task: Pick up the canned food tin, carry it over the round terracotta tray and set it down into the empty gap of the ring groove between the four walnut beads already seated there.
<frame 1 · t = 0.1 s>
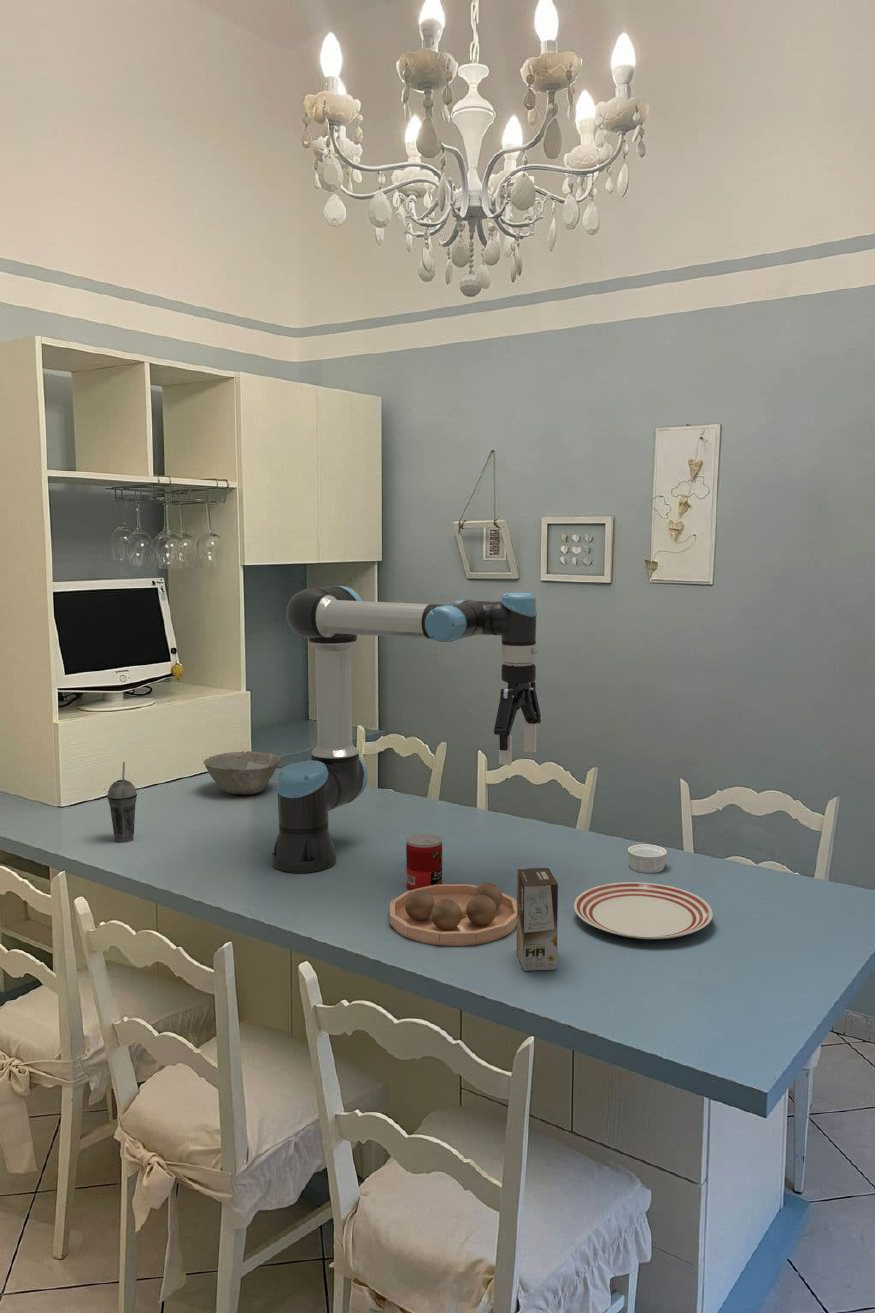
hand: (517, 758, 221), 28 cm above the counter, fingers open, 13 cm apart
ceramic bowl: (243, 792, 299), on the counter
beverage cup: (124, 840, 254), on the counter
tray: (454, 919, 202), on the counter
dinner plate: (642, 922, 201), on the counter
ramekin: (646, 868, 232), on the counter
canned food: (424, 888, 220), on the counter
coffee box: (536, 961, 183), on the counter
seated beads: (454, 919, 202), resting on tray
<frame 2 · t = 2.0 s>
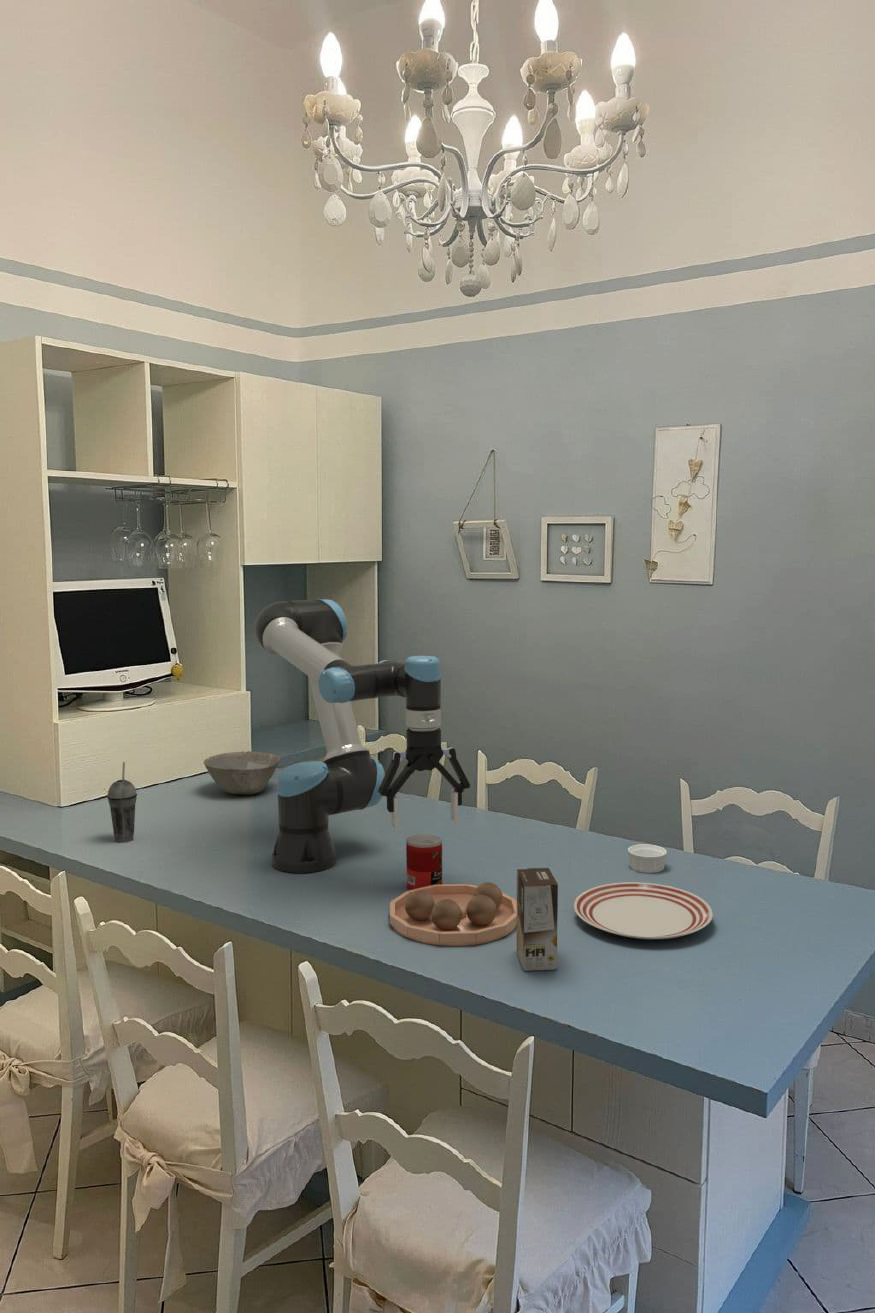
hand: (424, 823, 218), 15 cm above the counter, fingers open, 13 cm apart
nothing on the counter moved.
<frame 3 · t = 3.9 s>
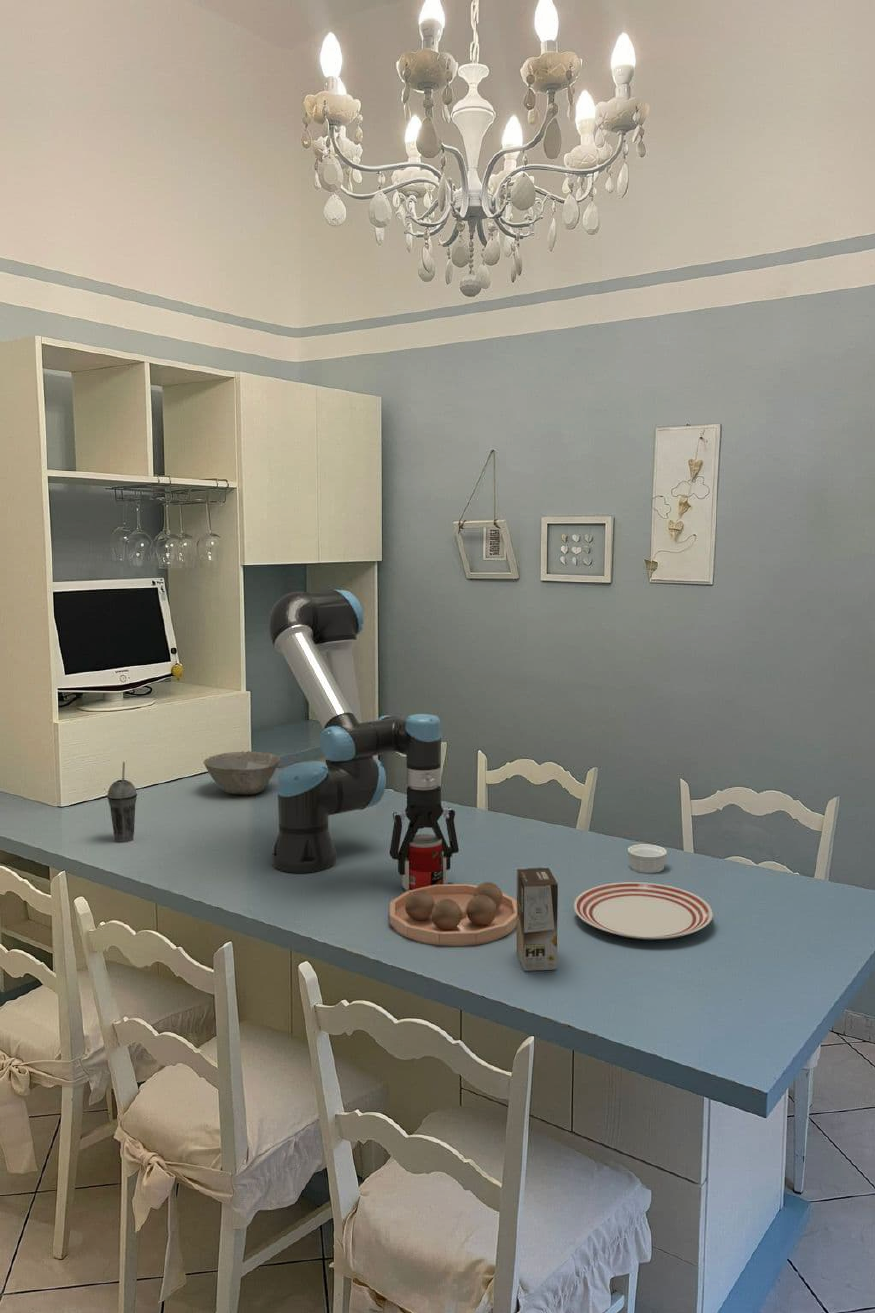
hand: (424, 886, 220), 0 cm above the counter, fingers closed on canned food, 8 cm apart
canned food: (424, 888, 220), on the counter, touching gripper
everything else where it was.
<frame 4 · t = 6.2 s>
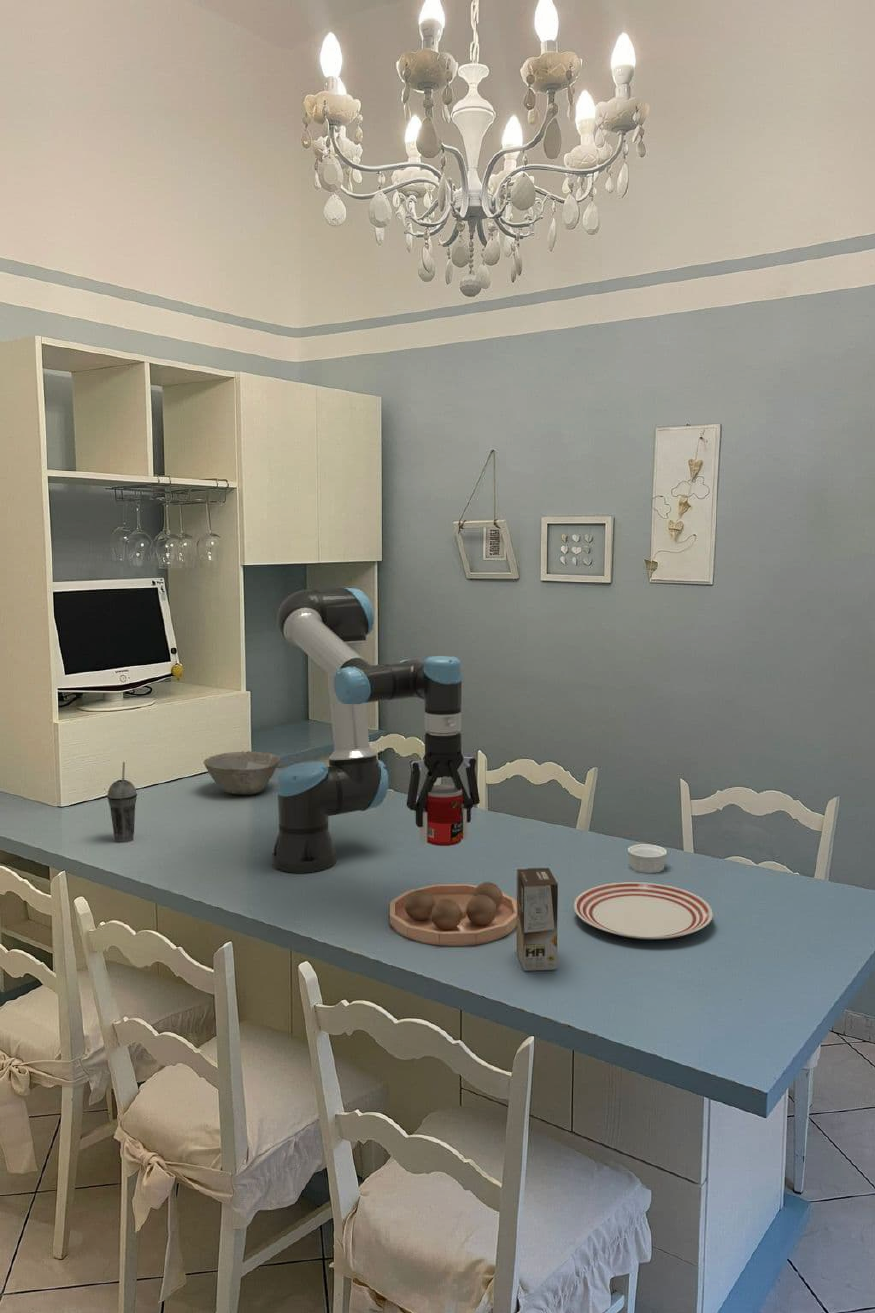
hand: (443, 839, 207), 15 cm above the counter, fingers closed on canned food, 8 cm apart
canned food: (443, 841, 207), point 14 cm above the counter, touching gripper
everything else where it was.
when the fingers open (2 cm above the counter, at t = 8.7 s): canned food drops 1 cm, resting on tray.
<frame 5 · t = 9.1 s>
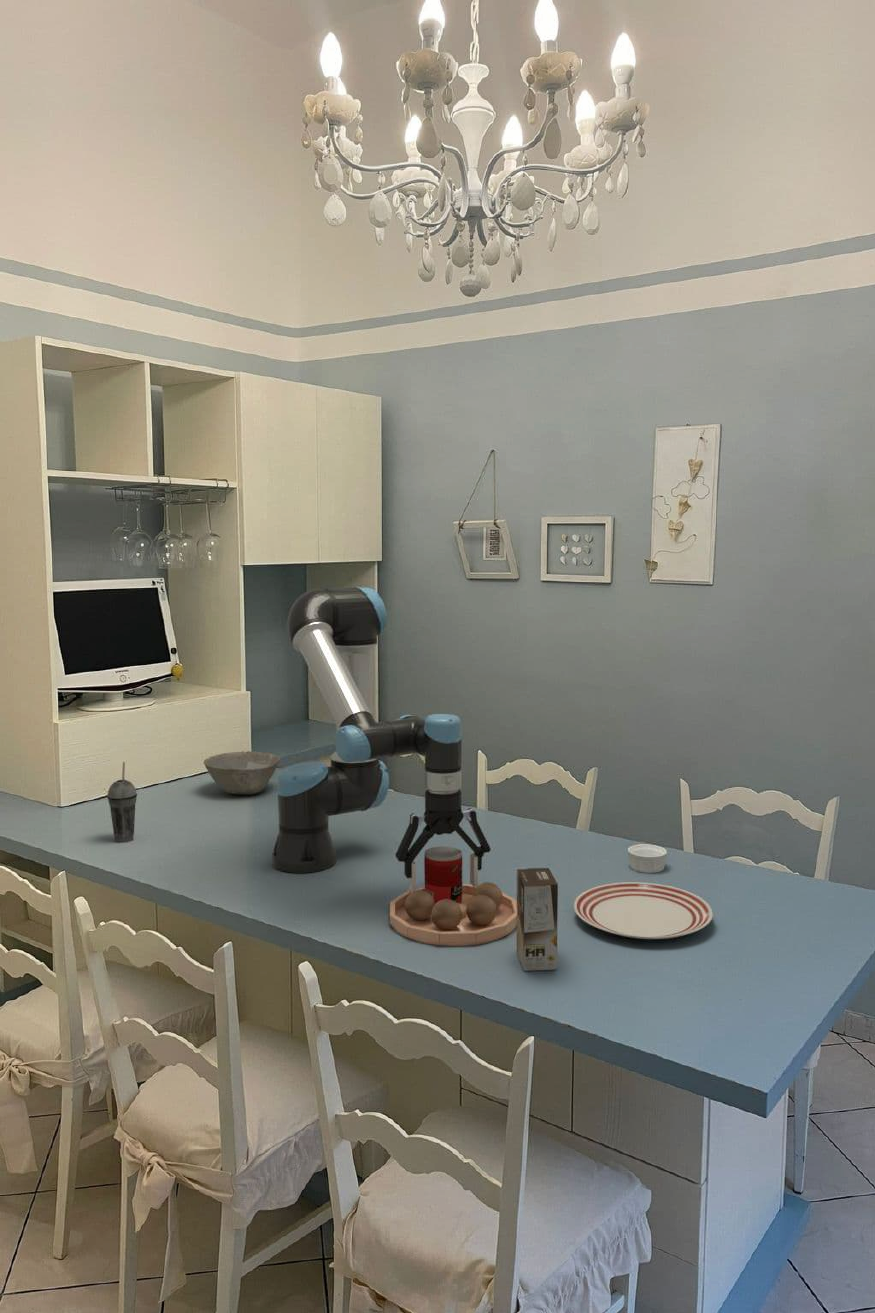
hand: (443, 888, 209), 4 cm above the counter, fingers open, 13 cm apart
canned food: (443, 903, 209), point 1 cm above the counter, touching tray
everything else where it was.
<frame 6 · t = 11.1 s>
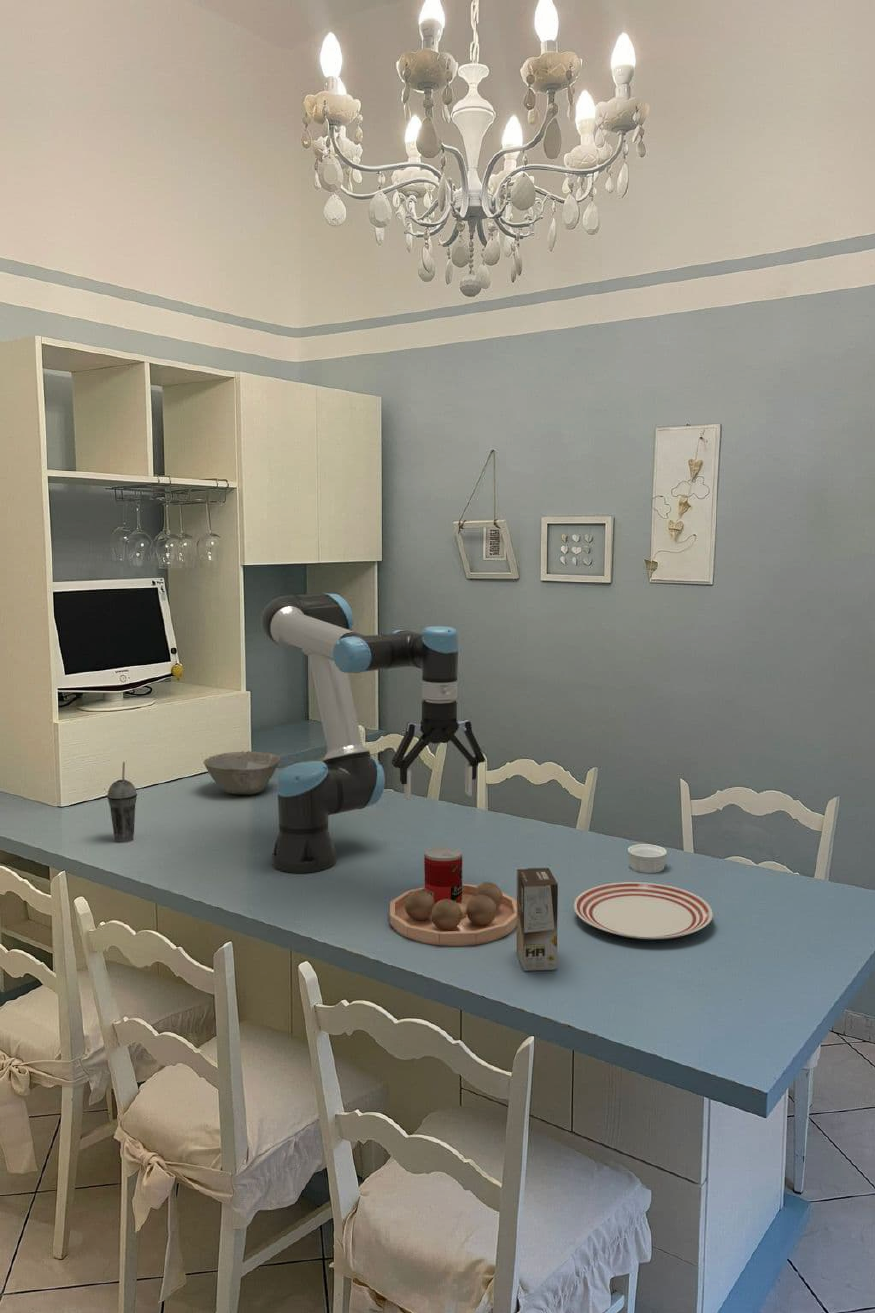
hand: (438, 796, 215), 21 cm above the counter, fingers open, 13 cm apart
nothing on the counter moved.
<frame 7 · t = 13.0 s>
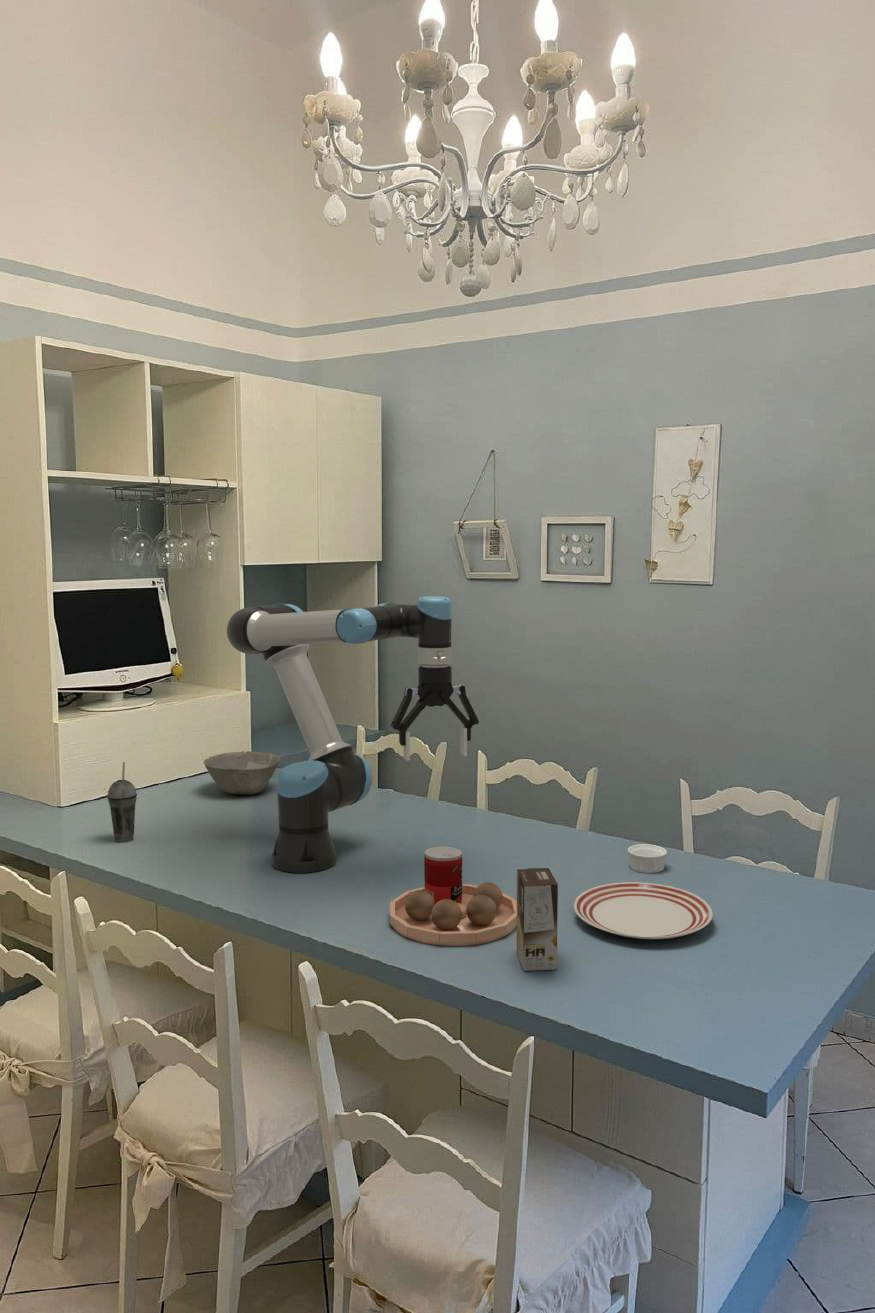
hand: (435, 757, 228), 27 cm above the counter, fingers open, 13 cm apart
nothing on the counter moved.
at the end: canned food 0.1 cm from the target spot on the tray, point 0.6 cm above the tray's base; canned food tilted 0°; the gripper is holding nothing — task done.
